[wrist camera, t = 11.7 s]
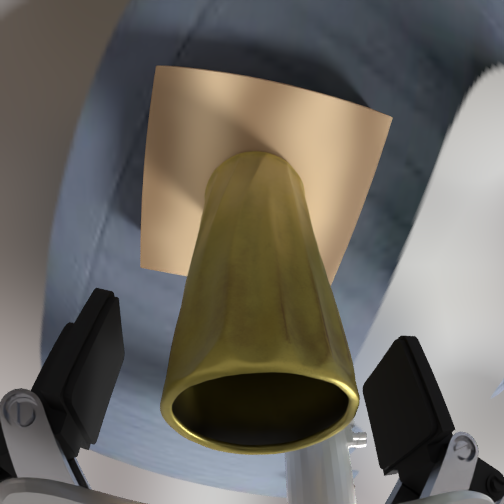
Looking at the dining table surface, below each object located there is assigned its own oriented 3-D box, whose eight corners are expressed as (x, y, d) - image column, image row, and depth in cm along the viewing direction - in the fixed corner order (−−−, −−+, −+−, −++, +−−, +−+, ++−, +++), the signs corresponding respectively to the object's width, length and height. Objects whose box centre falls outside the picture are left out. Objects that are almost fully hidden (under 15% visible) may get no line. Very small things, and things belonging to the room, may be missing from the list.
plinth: (370, 108, 20) (392, 117, 16) (317, 267, 27) (325, 298, 24) (173, 65, 18) (156, 65, 15) (154, 239, 26) (140, 267, 22)
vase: (323, 179, 19) (423, 383, 7) (273, 254, 22) (292, 467, 10) (232, 132, 17) (186, 308, 5) (190, 217, 20) (124, 430, 8)
